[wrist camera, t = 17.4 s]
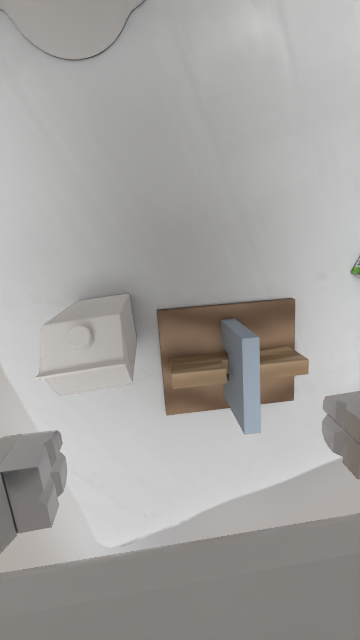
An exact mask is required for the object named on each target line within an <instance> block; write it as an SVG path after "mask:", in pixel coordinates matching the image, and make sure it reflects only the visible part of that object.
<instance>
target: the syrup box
mask: <svg viewBox="0 0 360 640" xmlns="http://www.w3.org/2000/svg"><path fill="white" fill-rule="evenodd" d="M351 273H352V274H354V275H356V276H358V277H360V258H359V260H358V261H357V263H356V265H355V267H354V268H353V270H352V272H351Z"/></svg>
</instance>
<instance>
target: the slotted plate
mask: <svg viewBox="0 0 360 640" xmlns="http://www.w3.org/2000/svg"><path fill="white" fill-rule="evenodd" d="M221 332H222V347H223V348H224V349H225V351H226V352H227V353H228V360H229V373H227V374H226V376H227V383H224V397H225V399H226V401H227V403H228V404H229V406H230V408H231V410H232V412H233V414H234V416H235V418H236V419H237V421H238V423H239V425H240V427H241V429H242V431H243V433H244V434H253V433H261V417H260V347H259V336H257V335H256V334H255V333H253V332H252V331H251V330H249V329H248V328H247V327H245V326H244V325H243V324H241V323H240V322H239V321H237V320H236V319H235V318H234V319H224V320H221Z"/></svg>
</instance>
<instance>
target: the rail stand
mask: <svg viewBox="0 0 360 640" xmlns="http://www.w3.org/2000/svg"><path fill="white" fill-rule="evenodd" d="M157 315H158V326H159V337H160V349H161V360H162V371H163V382H164V394H165V405H166V415H174V414H183V413H191V412H200V411H208V410H216V409H225V408H230V406H229V404H228V403H227V401H226V399H225V397H224V383H227V376H226V374H227V373H229V360H228V353H227V352H226V351H225V349H224V348H223V347H222V332H221V320H224V319H234V318H235V319H236V320H237V321H239V322H240V323H241V324H243V325H244V326H245V327H247V328H248V329H249V330H251V331H252V332H253V333H255V334H256V335H257V336H259V347H260V404H267V403H275V402H284V401H292V400H294V376H295V375H304V374H308V366H309V360H308V359H307V358H305V357H304V356H302V355H301V354H299V353H298V352H296V351H295V350H294V347H295V299H292V298H287V299H276V300H265V301H254V302H242V303H231V304H220V305H209V306H197V307H186V308H175V309H164V310H157Z"/></svg>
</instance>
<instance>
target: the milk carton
mask: <svg viewBox="0 0 360 640" xmlns="http://www.w3.org/2000/svg"><path fill="white" fill-rule="evenodd" d="M136 346H137V338H136V332H135V326H134V320H133V314H132V308H131V302H130V296H129V294H121V295H114V296H107V297H100V298H93V299H86V300H80V301H77V302H76V303H74V304H73V305H72V306H70V307H69V308H67V309H66V310H64V311H63V312H61V313H60V314H58V315H57V316H56V317H54V318H53V319H51V320H50V321H48V322H47V323H45V324H44V325H43V326H42V331H41V350H40V370H39V374H38V375H37V376H36V377H35V379H36V380H39V379H44V380H45V381H46V382H47V383H48V384H49V386H50V387H51V388H52V389H53V390H54V391H55V392H56V393H57V395H58V396H61V395H68V394H74V393H80V392H86V391H92V390H98V389H104V388H110V387H116V386H122V385H128V384H132V380H133V372H134V363H135V355H136Z"/></svg>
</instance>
